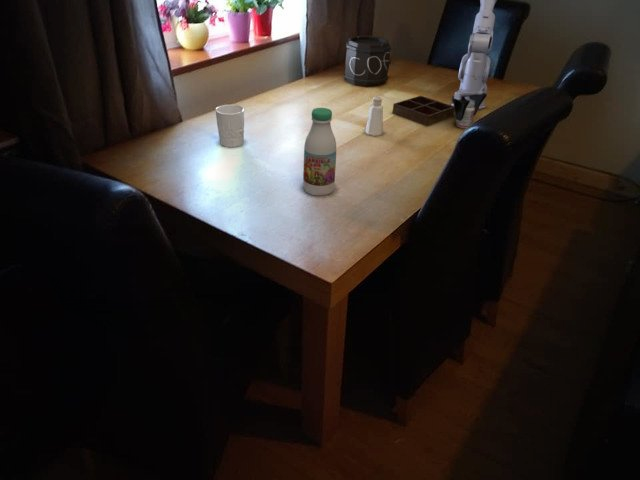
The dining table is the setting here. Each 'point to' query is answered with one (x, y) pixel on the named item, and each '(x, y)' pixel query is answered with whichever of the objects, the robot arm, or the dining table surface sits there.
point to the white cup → (230, 125)
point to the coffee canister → (367, 61)
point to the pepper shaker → (375, 118)
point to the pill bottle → (467, 115)
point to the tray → (423, 110)
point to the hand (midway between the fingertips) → (465, 117)
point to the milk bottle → (320, 154)
